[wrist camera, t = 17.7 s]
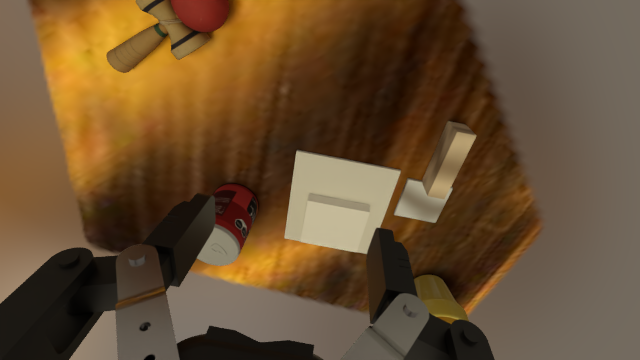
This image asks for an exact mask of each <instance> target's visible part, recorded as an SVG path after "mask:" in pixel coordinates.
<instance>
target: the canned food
mask: <svg viewBox="0 0 640 360" xmlns="http://www.w3.org/2000/svg"><path fill="white" fill-rule="evenodd" d="M212 196H214V198H215V219H216V220H215V226H214V229H213V232H212V234H211V235H210V237H209V238H208V240H207V242H206V243H205V245H204V247H203V248H202V250H201V252H200V253H199V255H198V257H197V258H198V259H199V260H201V261H203V262H205V263H208V264H211V265H219V266H222V265H228V264H231V263H232V262H234V261H235V260H236V259H237V257H238V255H239V254H240V251H241V249H242V247H243V245H244V243H245V240H246V238H247V236H248V234H249V231H250V229H251V227H252V224H253V222H254V220H255V217H256V215H257V213H258V202H257V199H256V197H255V195H254V194H253V193H252V192H251V191H250V190H249V189H247V188H245V187H244V186H241V185H238V184H226V185H223V186H221V187H220V188H218V189H217V190H216V191H215V192H214V194H213V195H212Z"/></svg>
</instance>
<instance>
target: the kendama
mask: <svg viewBox="0 0 640 360" xmlns="http://www.w3.org/2000/svg"><path fill="white" fill-rule="evenodd" d="M136 3H137V5H138V6H139V8H140V9H141V10H142V11H144V12H147V13H149V14H151V15H153V16H154V17H156V18H157V19H158V20H159V23H158V24H155V25H153V26H151V27H149V28H147V29H145V30H143V31H141V32H140V33H138V34H136V35H135V36H133V37H132V38H130V39H128V40H127V41H125V42H124V43H122V44H120V45H119V46H117V47H116V48H114V49H112V50H110V51H109V52H108V53H107V60H108V62H109V64H110V65H111V66H112V67H113V68H114V69H116V70H117V71H120V72H123V73H127V72H129V71H130V70H131V69H132V68H133V67H134V66H135V65H137V64H138V63H139V62H140V61H141V60H142V59H143V58H144V57H146V56H147V55H148V54H149V53H150V52H152V51H153V50H154V49H155V48H156V47H157V46H158V45H159V44H160V43H161V42H162V40H163V39H164V38H165V37H166V36H167V35H168V34H169V36H170V40H171V52H172V54H173V55H174V56H175V57H176V59H178V60H180V59H181V58H183V57H185V56H187V55H188V54H190V53H191V52H193V51H195V50H196V49H198V48H199V47H201V46H202V45H204V44H205V43H207V42H208V41H209V40H210V38H209V36H208V35H207V33H206V32H212V31H215V30H217V29H218V28H220V27H221V26H222V25H223V24H224V22H225V21H226V19H227V16H228V13H229V2H228V0H136Z"/></svg>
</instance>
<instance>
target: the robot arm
mask: <svg viewBox="0 0 640 360" xmlns="http://www.w3.org/2000/svg"><path fill="white" fill-rule="evenodd" d="M215 220H216V219H215V198H214V196H212V195H207V194H201V193H197V194H196V195H195V196H194V197H193V199H192V200H191V201H190V202H187V201H184V202H182V203H180V204H178V205H176V206H175V207H174V208H173V209H172V210H171V211H170V212H169V213H168V216H166V217H165V218H164V219H163V221H162V222H161V223H160V224H159V225H158V226H157V227H156V228H155V229H154V231H153V232H152V233H151V234H150V235H149V236H148V237H147V239H146V240H145V241H144V242H143V243H142V244H141V245H135V246H132V247H129V248H127V249H125V250H124V251H123V252H121V253H120V254H119V255H118V256H106V257H93V254H92V252H91V251H90V250H88V249H86V248H71V249H67V250H64V251H61V252H59V253H57V254H55V255H54V256H52V257H51V258H50V259H49V260H48V261H47V262H45V263H44V264H43V265H42V266H41V267H40V268H39V269H38V270H37V271H36V272H35V273H34V274H32V275H31V276H30V277H29V278H28V279H27V280H26V281H25V282H24V283H23V284H21V285H20V287H18V288H17V289H16V290H15V291H14V292H13V293H12V294H11V295H9V296H8V297H7V298H6V299H5V300H4V301H3V302H2V303H1V304H0V360H69V359H70V357H71V356H72V355H73V353H74V352H75V351H76V349H77V348H78V346H79V345H80V344H81V342H82V341H83V339H84V338H85V337H86V335H87V334H88V333H89V331H90V330H91V329H92V327H93V326H94V325H95V323H96V322H97V320H98V319H99V318H100V316H101V315H102V313H103V312H104V311H111V310H115V311H116V329H117V349H118V360H323V359H322V358H320V357H319V356H317V355H315V354H313V349H314V345H311V344H305V343H300V342H295V341H290V340H287V341H274V342H258V341H256V340H253V339H251V338H250V337H247V336H245V335H243V334H241V333H239V332H237V331H235V330H230V329H224V328H219V327H214V326H209V329H208V331H207V333H206V334H203V335H198V336H194V337H190V338H188V339H185V340H183V341H181V342H179V343H177V344H176V340H175V335H174V330H173V325H172V320H171V315H170V310H169V305H168V300H167V295H166V291H167V289H168V288H169V286H170V285H171V286H176V287H179V286H180V284H181V283H182V281H183V280H184V278H185V276H186V275H187V273H188V271H189V270H190V268H191V266H192V265H193V263H194V261H195V260H196V258H197V257H198V255H199V253H200V252H201V250H202V248H203V247H204V245H205V243H206V242H207V240H208V238H209V237H210V235H211V234H212V232H213V229H214V226H215ZM366 265H367V280H368V295H369V310H370V323H371V324H373V326H369V327H368V328H367V329H366V330H365V331H364V332H363V333H362V335H361V336H360V337H359V338H358V339H357V341H356V342H355V343H354V344H353V345H352V347H351V348H350V349H349V350H348V351H347V352H346V354H345V355H344V356H343V357H342V358H341V360H494V357H493V354H492V351H491V349H490V346H489V343H488V340H487V338H486V336H485V335H484V334H483V332H482V331H481V330H480V329H479V328H478V327H477V326H476V325H474V324H473V323H471V322H469V321H466V320H462V319H458V320H455V321H453V322H452V324H450V323H448V322H446V321H444V320H442V319H440V318H438V317H436V316H434V315H432V314H431V313H429V311H428V309H427V307H426V305H425V304H424V303H423V302H422V300H420V299H419V298H418V295H417V291H416V287H415V282H414V278H413V274H412V270H411V265H410V262H409V257H408V253H407V250H406V249H405V248H404V246H403V245H402V243H400V242H395V241H394V236H393V231H392V230H388V229H383V228H376V229H375V232H374V234H373V237H372V240H371V243H370V245H369V248H368V252H367V258H366Z"/></svg>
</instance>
